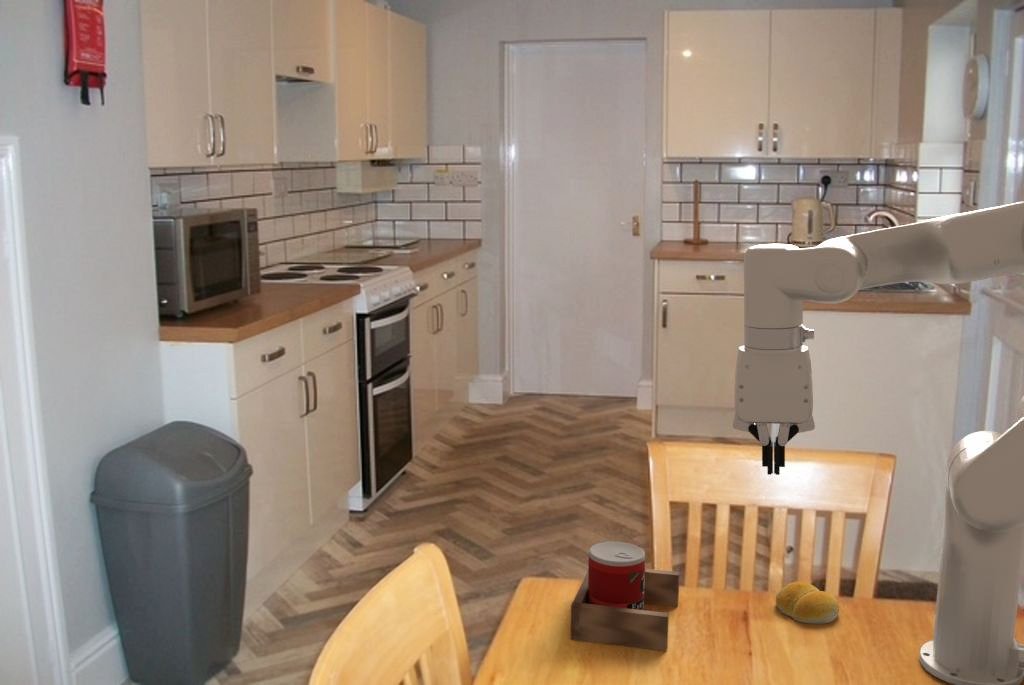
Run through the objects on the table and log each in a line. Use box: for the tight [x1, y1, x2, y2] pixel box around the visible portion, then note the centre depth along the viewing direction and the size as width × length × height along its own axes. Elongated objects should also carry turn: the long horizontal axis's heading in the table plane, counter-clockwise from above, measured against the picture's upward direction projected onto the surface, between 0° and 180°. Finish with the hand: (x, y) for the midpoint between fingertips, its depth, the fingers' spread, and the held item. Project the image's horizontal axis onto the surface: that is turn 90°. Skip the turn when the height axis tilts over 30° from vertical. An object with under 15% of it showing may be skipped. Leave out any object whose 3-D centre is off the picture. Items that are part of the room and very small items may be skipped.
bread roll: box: [775, 581, 840, 625], centre depth 155 cm, size 8×9×4 cm
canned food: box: [587, 541, 646, 610], centre depth 150 cm, size 8×8×11 cm
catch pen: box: [570, 568, 680, 652], centre depth 151 cm, size 13×15×5 cm
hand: (773, 471), depth 143 cm, fingers closed
